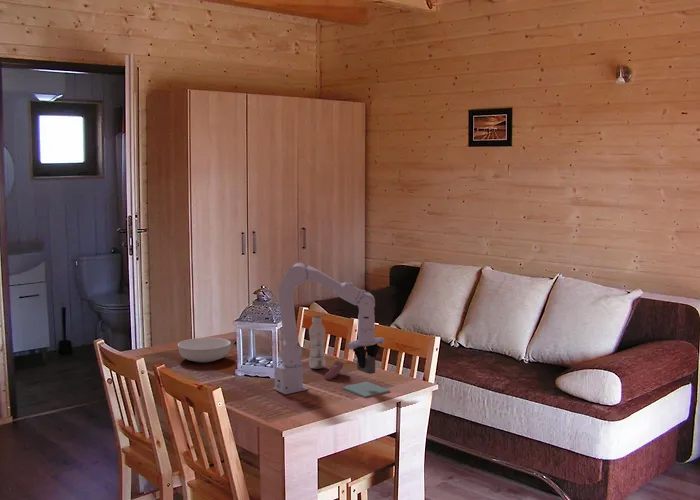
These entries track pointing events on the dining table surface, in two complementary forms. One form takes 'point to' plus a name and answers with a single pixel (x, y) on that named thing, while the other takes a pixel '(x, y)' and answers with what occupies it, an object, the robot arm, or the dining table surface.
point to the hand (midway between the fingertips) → (366, 366)
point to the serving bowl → (204, 349)
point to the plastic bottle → (317, 343)
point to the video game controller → (334, 370)
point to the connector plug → (367, 364)
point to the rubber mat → (366, 389)
